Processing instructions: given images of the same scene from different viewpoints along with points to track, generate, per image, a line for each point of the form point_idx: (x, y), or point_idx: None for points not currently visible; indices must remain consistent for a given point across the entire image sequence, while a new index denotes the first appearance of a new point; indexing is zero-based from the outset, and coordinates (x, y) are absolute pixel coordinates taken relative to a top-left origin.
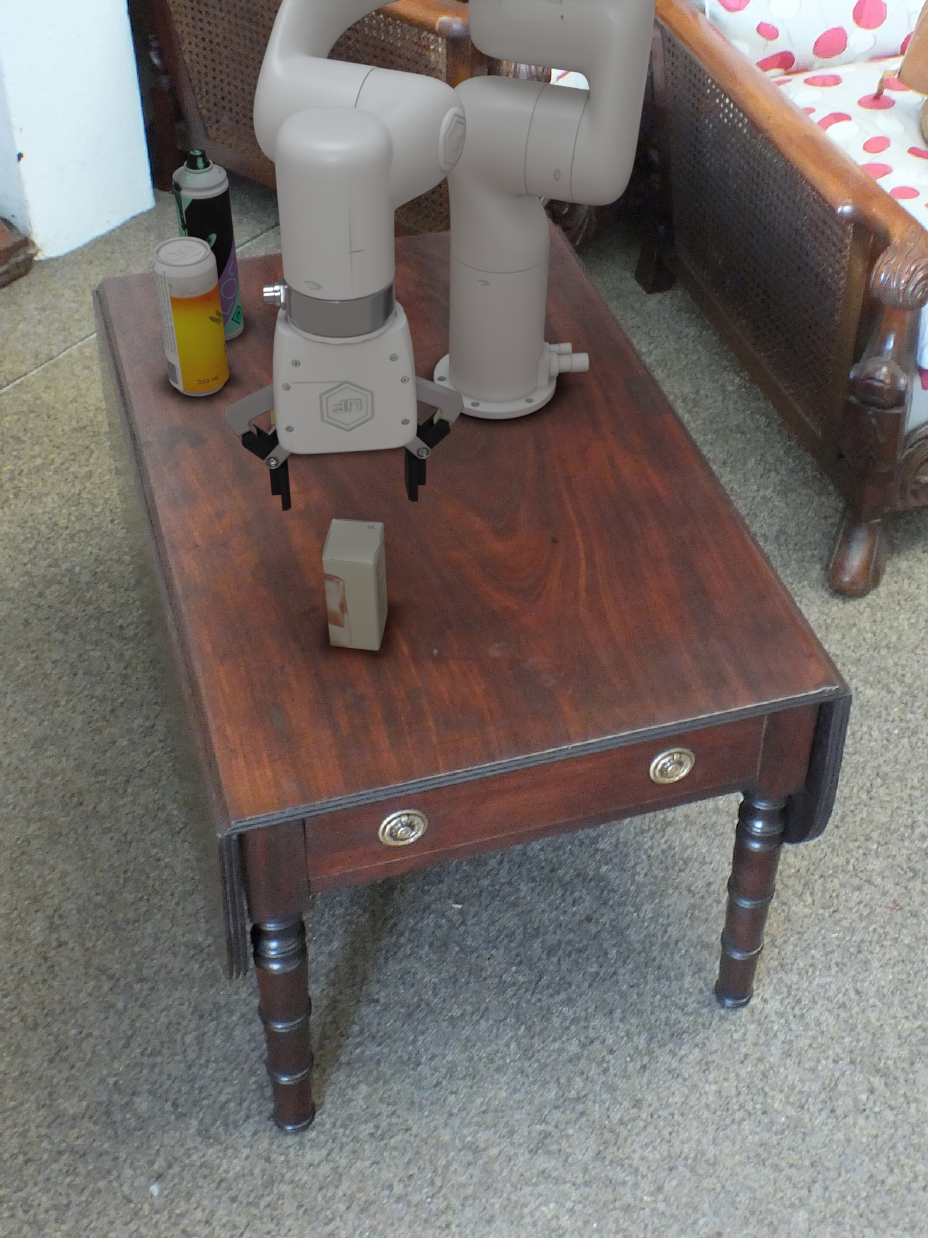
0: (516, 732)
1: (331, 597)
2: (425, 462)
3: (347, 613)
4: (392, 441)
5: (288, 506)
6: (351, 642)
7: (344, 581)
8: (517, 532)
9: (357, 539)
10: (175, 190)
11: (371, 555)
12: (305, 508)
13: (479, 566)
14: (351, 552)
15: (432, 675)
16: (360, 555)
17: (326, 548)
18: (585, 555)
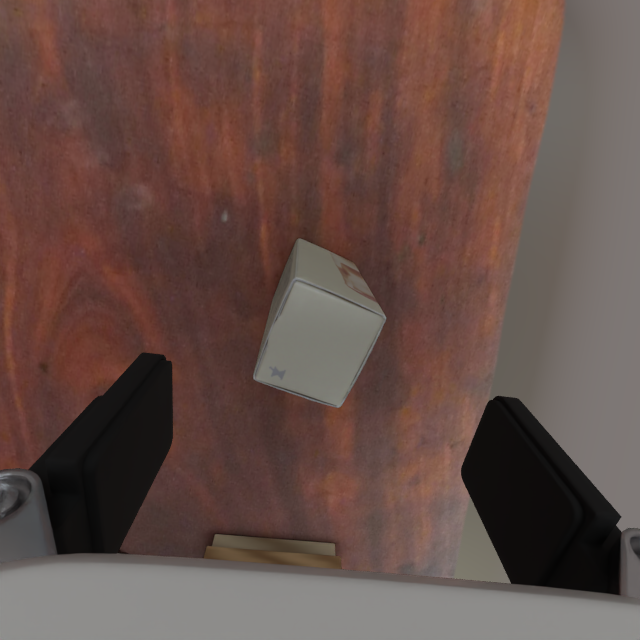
0: (132, 11)
1: (361, 283)
2: (41, 458)
3: (337, 266)
4: (41, 628)
5: (507, 402)
6: (330, 253)
7: (345, 284)
8: (90, 390)
9: (309, 349)
10: None
11: (293, 302)
12: (326, 471)
13: (144, 348)
14: (329, 319)
15: (237, 173)
16: (314, 306)
17: (370, 342)
18: (3, 335)
